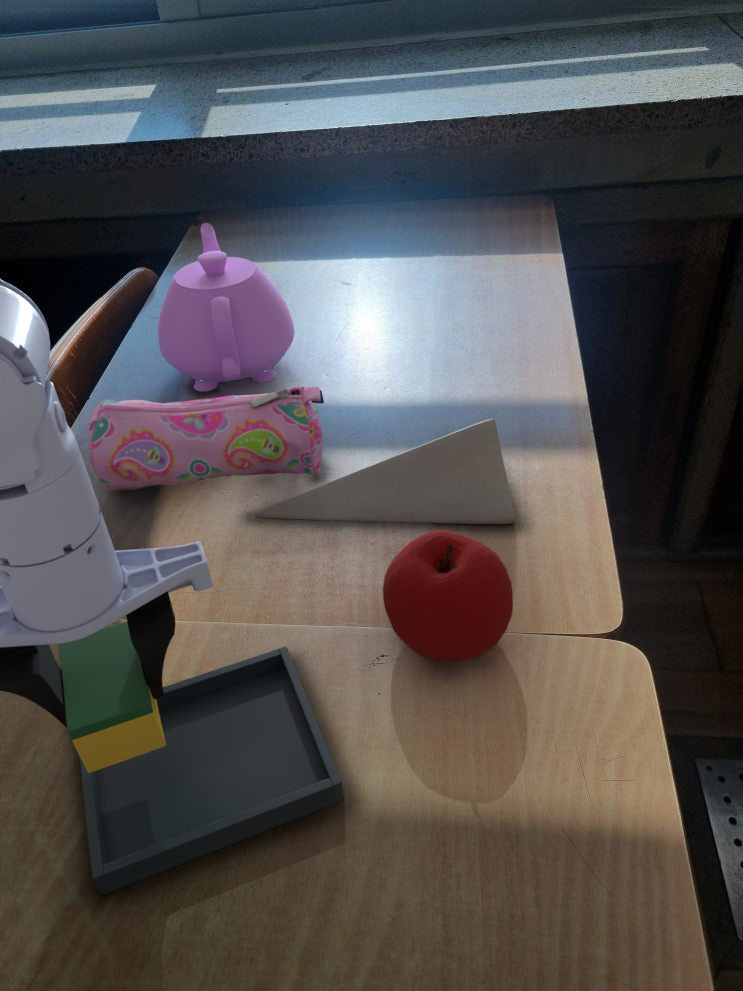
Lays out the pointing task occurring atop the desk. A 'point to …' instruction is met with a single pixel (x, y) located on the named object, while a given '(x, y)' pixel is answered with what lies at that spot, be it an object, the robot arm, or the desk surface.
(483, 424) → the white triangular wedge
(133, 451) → the pencil case
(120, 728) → the sponge
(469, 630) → the apple
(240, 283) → the teapot
